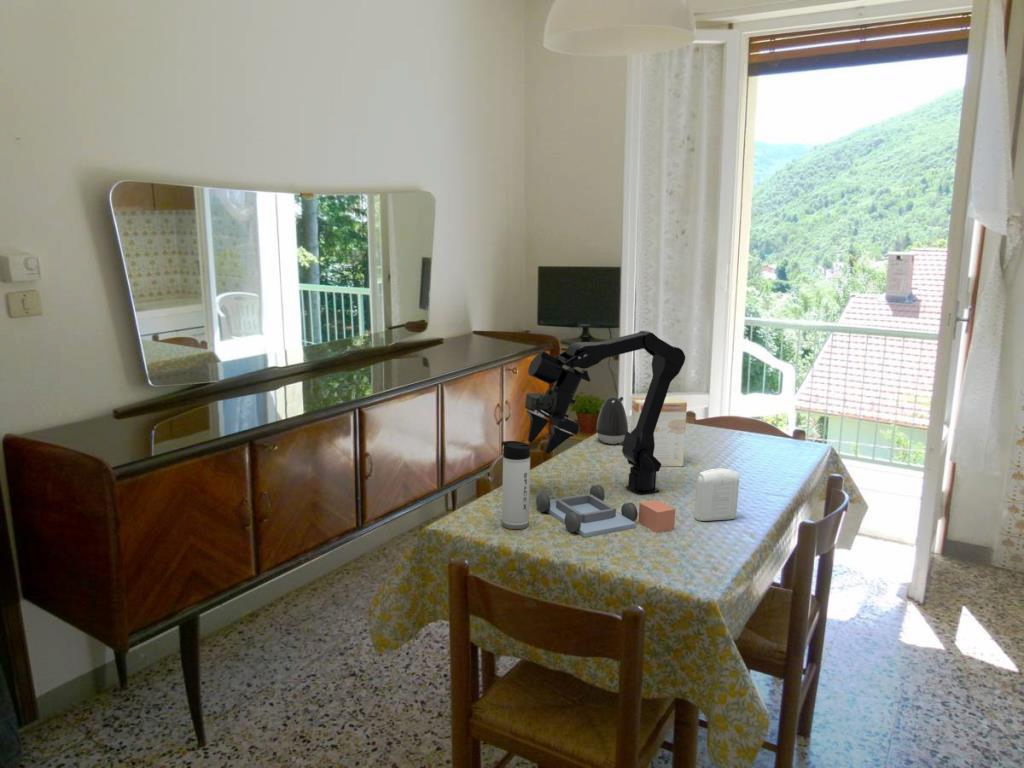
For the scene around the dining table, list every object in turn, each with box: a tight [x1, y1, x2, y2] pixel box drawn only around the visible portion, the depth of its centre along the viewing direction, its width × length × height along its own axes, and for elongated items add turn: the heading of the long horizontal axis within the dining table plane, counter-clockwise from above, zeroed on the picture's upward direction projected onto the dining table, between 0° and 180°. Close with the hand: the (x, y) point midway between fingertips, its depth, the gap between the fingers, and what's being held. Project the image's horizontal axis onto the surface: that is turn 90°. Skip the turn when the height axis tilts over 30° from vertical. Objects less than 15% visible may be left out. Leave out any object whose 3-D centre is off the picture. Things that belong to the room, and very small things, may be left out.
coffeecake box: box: [630, 397, 688, 467], centre depth 224 cm, size 15×7×20 cm, turn 92°
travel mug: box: [501, 440, 531, 530], centre depth 175 cm, size 6×7×20 cm
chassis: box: [535, 484, 639, 538], centre depth 182 cm, size 17×22×4 cm
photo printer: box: [694, 467, 740, 522], centre depth 182 cm, size 10×4×12 cm, turn 103°
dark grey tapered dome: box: [595, 396, 629, 445], centre depth 246 cm, size 10×10×15 cm
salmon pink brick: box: [638, 499, 676, 534], centre depth 177 cm, size 5×7×5 cm
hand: (538, 447), depth 190 cm, fingers open, 9 cm apart
